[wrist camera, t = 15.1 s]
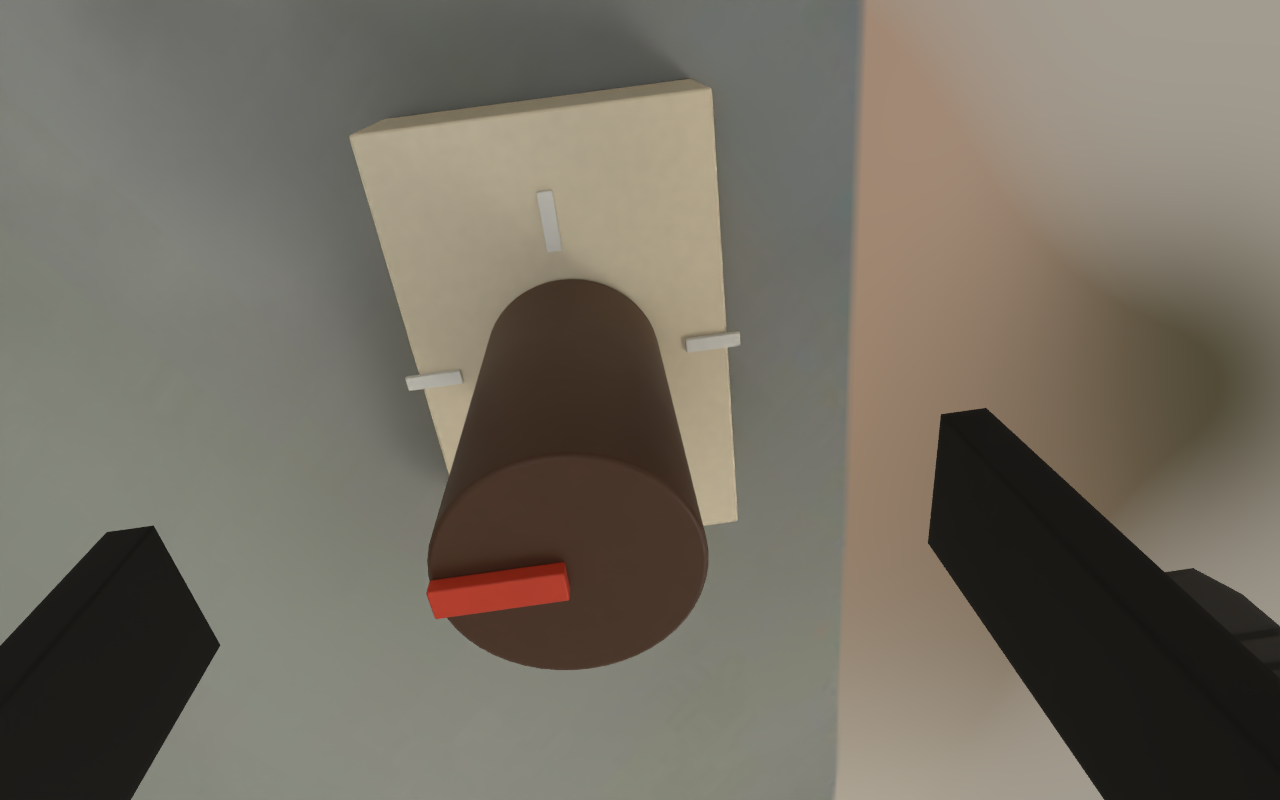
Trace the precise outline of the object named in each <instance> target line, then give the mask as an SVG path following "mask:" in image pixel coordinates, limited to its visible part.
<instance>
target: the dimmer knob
mask: <svg viewBox="0 0 1280 800" xmlns="http://www.w3.org/2000/svg"><path fill="white" fill-rule="evenodd" d="M427 562H428V575H429V579H430V582H429V585H428V589H427V593H426V594H427V597H428V599H429V602H430V605H431V608H432V611H433V614H434V617H435V619H440V618H447V619H448V620H449V621H450V622H451V623H452V624H453V626H454V627H455V628H456V629H457V630H458V631H459V632H460V633H462V634H463V635H464V636H465V637H466V638H467V639H469V640H470V641H471V642H473V643H474V644H476V645H477V646H479V647H480V648H482V649H484V650H486V651H488V652H490V653H491V654H493V655H496V656H498V657H501V658H503V659H506V660H508V661H511V662H515V663H518V664H521V665H525V666H530V667H536V668H541V669H553V670H578V669H589V668H595V667H600V666H606V665H610V664H613V663H616V662H620V661H623V660H626V659H628V658H631V657H633V656H636V655H638V654H640V653H642V652H644V651H646V650H648V649H650V648H652V647H653V646H655V645H656V644H658V643H659V642H661V641H662V640H664V639H665V638H666V637H667V636H668V635H670V634H671V633H672V632H673V631H674V630H676V629H677V628H678V626H679V625H680V624H681V623H682V622H683V621H684V620H685V619H686V618H687V616H688V615H689V613H690V612H691V611H692V609H693V608H694V606H695V604H696V602H697V600H698V598H699V596H700V594H701V592H702V589H703V586H704V583H705V580H706V576H707V570H708V546H707V540H706V535H705V531H704V527H703V523H702V519H701V515H700V511H699V507H698V503H697V499H696V495H695V491H694V487H693V482H692V478H691V474H690V470H689V466H688V462H687V458H686V454H685V450H684V446H683V442H682V438H681V434H680V430H679V426H678V422H677V418H676V414H675V410H674V406H673V402H672V397H671V393H670V389H669V385H668V381H667V377H666V373H665V369H664V365H663V361H662V357H661V353H660V349H659V345H658V341H657V338H656V335H655V332H654V329H653V327H652V325H651V323H650V321H649V320H648V318H647V317H646V315H645V314H644V313H643V311H642V310H641V309H640V308H639V307H638V306H637V305H636V304H635V303H634V302H633V301H632V300H631V299H629V298H628V297H627V296H625V295H624V294H622V293H621V292H619V291H617V290H615V289H613V288H611V287H609V286H607V285H604V284H600V283H597V282H593V281H588V280H580V279H565V280H557V281H552V282H547V283H544V284H541V285H538V286H536V287H534V288H532V289H530V290H528V291H526V292H524V293H523V294H521V295H520V296H518V297H517V298H516V299H515V300H513V301H512V302H511V303H510V304H509V305H508V306H507V307H506V308H505V310H504V311H503V312H502V313H501V315H500V316H499V318H498V319H497V321H496V322H495V325H494V327H493V329H492V331H491V334H490V338H489V341H488V344H487V348H486V351H485V355H484V358H483V362H482V365H481V368H480V372H479V375H478V379H477V382H476V386H475V389H474V392H473V396H472V399H471V403H470V406H469V410H468V413H467V416H466V420H465V423H464V427H463V430H462V434H461V437H460V440H459V444H458V447H457V451H456V454H455V458H454V461H453V464H452V468H451V471H450V475H449V478H448V482H447V485H446V489H445V492H444V495H443V499H442V502H441V506H440V509H439V513H438V516H437V519H436V523H435V526H434V530H433V533H432V537H431V540H430V544H429V550H428V560H427Z"/></svg>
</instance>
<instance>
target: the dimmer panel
mask: <svg viewBox="0 0 1280 800" xmlns="http://www.w3.org/2000/svg"><path fill="white" fill-rule="evenodd" d="M350 142H351V146H352V149H353V152H354V156H355V159H356V163H357V166H358V169H359V173H360V176H361V179H362V183H363V186H364V190H365V193H366V196H367V200H368V203H369V206H370V210H371V213H372V217H373V220H374V223H375V227H376V230H377V234H378V237H379V240H380V244H381V247H382V250H383V254H384V257H385V261H386V264H387V267H388V271H389V274H390V277H391V281H392V284H393V288H394V291H395V294H396V298H397V301H398V305H399V308H400V311H401V315H402V318H403V321H404V325H405V328H406V332H407V335H408V338H409V342H410V345H411V348H412V352H413V355H414V359H415V362H416V365H417V369H418V372H419V375H412V376H407V377H406V378H405V380H406V383H407V386H408V389H409V391H412V390H419V389H424V392H425V396H426V399H427V403H428V406H429V409H430V413H431V416H432V420H433V423H434V426H435V430H436V433H437V436H438V440H439V443H440V447H441V450H442V453H443V457H444V460H445V463H446V467H447V470H448V474H449V475H450V471H451V468H452V464H453V461H454V458H455V454H456V451H457V447H458V444H459V440H460V437H461V434H462V430H463V427H464V423H465V420H466V416H467V413H468V410H469V406H470V403H471V399H472V396H473V392H474V389H475V386H476V382H477V379H478V375H479V372H480V368H481V365H482V362H483V358H484V355H485V351H486V348H487V344H488V341H489V338H490V334H491V331H492V329H493V327H494V325H495V322H496V321H497V319H498V318H499V316H500V315H501V313H502V312H503V311H504V310H505V308H506V307H507V306H508V305H509V304H510V303H511V302H512V301H513V300H515V299H516V298H517V297H518V296H520V295H521V294H523V293H524V292H526V291H528V290H530V289H532V288H534V287H536V286H538V285H541V284H544V283H547V282H552V281H557V280H565V279H580V280H588V281H593V282H597V283H600V284H604V285H607V286H609V287H611V288H613V289H615V290H617V291H619V292H621V293H622V294H624V295H625V296H627V297H628V298H629V299H631V300H632V301H633V302H634V303H635V304H636V305H637V306H638V307H639V308H640V309H641V310H642V311H643V313H644V314H645V315H646V317H647V318H648V320H649V321H650V323H651V325H652V327H653V329H654V332H655V335H656V338H657V341H658V345H659V349H660V353H661V357H662V361H663V365H664V369H665V373H666V377H667V381H668V385H669V389H670V393H671V397H672V402H673V406H674V410H675V414H676V418H677V422H678V426H679V430H680V434H681V438H682V442H683V446H684V450H685V454H686V458H687V462H688V466H689V470H690V474H691V478H692V482H693V487H694V491H695V495H696V499H697V503H698V507H699V511H700V515H701V519H702V523H703V526H705V525H713V524H720V523H727V522H734V521H737V519H738V511H737V495H736V478H735V462H734V445H733V429H732V412H731V395H730V379H729V362H728V347H734V346H740V333H739V331H735V332H727V329H726V313H725V296H724V280H723V263H722V247H721V230H720V213H719V197H718V180H717V164H716V147H715V131H714V114H713V98H712V90H711V88H710V87H708V86H705V85H703V84H701V83H699V82H697V81H695V80H692V79H684V80H677V81H669V82H661V83H654V84H646V85H639V86H631V87H624V88H616V89H608V90H601V91H593V92H586V93H578V94H570V95H563V96H555V97H548V98H540V99H533V100H525V101H517V102H510V103H502V104H495V105H487V106H479V107H472V108H464V109H457V110H449V111H442V112H434V113H426V114H419V115H411V116H404V117H396V118H388V119H383V120H381V121H379V122H377V123H375V124H373V125H370V126H368V127H366V128H364V129H362V130H360V131H358V132H356V133H353V134H352V135H350Z"/></svg>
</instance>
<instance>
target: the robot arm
mask: <svg viewBox="0 0 1280 800" xmlns="http://www.w3.org/2000/svg"><path fill="white" fill-rule="evenodd" d="M928 544H929V545H930V547H931V548H932V549H933V551H934V552H935V554H936V555H937V557H938V558H939V560H940V561H941V562H942V564H943V565H944V567H945V568H946V570H947V571H948V573H949V574H950V576H951V577H952V579H953V580H954V582H955V583H956V584H957V586H958V587H959V589H960V590H961V592H962V593H963V595H964V596H965V597H966V599H967V600H968V602H969V603H970V605H971V606H972V608H973V609H974V611H975V612H976V613H977V615H978V616H979V618H980V619H981V621H982V622H983V624H984V625H985V626H986V628H987V630H988V631H989V632H990V634H991V635H992V637H993V638H994V640H995V641H996V643H997V644H998V646H999V647H1000V648H1001V650H1002V651H1003V653H1004V654H1005V656H1006V657H1007V659H1008V660H1009V662H1010V663H1011V665H1012V666H1013V667H1014V669H1015V670H1016V672H1017V673H1018V675H1019V676H1020V678H1021V679H1022V681H1023V682H1024V683H1025V685H1026V686H1027V688H1028V689H1029V691H1030V692H1031V693H1032V695H1033V697H1034V698H1035V699H1036V701H1037V702H1038V704H1039V705H1040V707H1041V708H1042V709H1043V711H1044V713H1045V714H1046V715H1047V717H1048V718H1049V720H1050V721H1051V723H1052V724H1053V726H1054V727H1055V729H1056V730H1057V732H1058V733H1059V734H1060V736H1061V737H1062V739H1063V740H1064V741H1065V743H1066V745H1067V746H1068V747H1069V749H1070V750H1071V752H1072V753H1073V755H1074V756H1075V758H1076V759H1077V761H1078V762H1079V764H1080V765H1081V766H1082V768H1083V769H1084V770H1085V772H1086V774H1087V775H1088V777H1089V778H1090V780H1091V781H1092V782H1093V784H1094V785H1095V787H1096V788H1097V790H1098V791H1099V793H1100V794H1101V796H1102V797H1103V799H1104V800H1280V626H1279V625H1278V624H1276V623H1275V622H1274V621H1273V620H1272V619H1271V618H1269V617H1268V616H1267V615H1266V614H1265V613H1264V612H1262V611H1261V610H1260V609H1259V608H1257V607H1256V606H1255V605H1254V604H1253V603H1252V602H1251V601H1249V600H1248V599H1247V598H1246V597H1245V596H1244V595H1242V594H1241V593H1239V592H1237V591H1235V590H1233V589H1231V588H1229V587H1227V586H1226V585H1224V584H1222V583H1220V582H1218V581H1216V580H1214V579H1212V578H1211V577H1209V576H1207V575H1204V574H1203V573H1201V572H1199V571H1197V570H1195V569H1194V568H1192V569H1185V570H1178V571H1171V572H1164V571H1162V570H1161V569H1160V568H1159V567H1158V566H1157V565H1156V564H1155V563H1154V562H1153V561H1152V560H1151V559H1149V558H1148V557H1147V556H1146V555H1145V554H1144V553H1143V552H1142V551H1141V550H1139V548H1138V547H1137V546H1135V545H1134V544H1133V543H1132V542H1131V541H1130V540H1129V539H1128V538H1127V537H1126V536H1124V535H1123V534H1122V533H1121V532H1120V531H1119V530H1118V529H1117V528H1116V527H1115V526H1114V525H1113V524H1112V523H1110V522H1109V521H1108V520H1107V519H1106V518H1105V517H1104V516H1103V515H1101V513H1100V512H1098V511H1097V510H1096V509H1095V508H1094V507H1093V506H1092V505H1091V504H1090V503H1089V502H1088V501H1087V500H1085V499H1084V498H1083V497H1082V496H1081V495H1080V494H1079V493H1078V492H1077V491H1076V490H1075V489H1074V488H1072V487H1071V486H1070V485H1069V484H1068V483H1067V482H1066V481H1065V480H1064V479H1063V478H1061V477H1060V476H1059V475H1058V474H1057V473H1056V472H1055V471H1054V470H1053V469H1052V468H1051V467H1049V465H1047V464H1046V463H1045V462H1044V461H1043V460H1042V459H1041V458H1040V457H1039V456H1038V455H1037V454H1035V453H1034V452H1033V451H1032V450H1031V449H1030V448H1029V447H1028V446H1027V445H1026V444H1025V443H1024V442H1022V441H1021V440H1020V439H1019V438H1018V437H1017V436H1016V435H1015V434H1014V433H1013V432H1012V431H1010V430H1009V429H1008V428H1007V427H1006V426H1005V425H1004V424H1003V423H1002V422H1001V421H1000V420H998V419H997V418H996V417H995V416H994V415H993V414H992V413H991V412H989V410H987V409H986V408H983V409H976V410H969V411H962V412H954V413H947V414H941V421H940V430H939V440H938V450H937V459H936V469H935V480H934V489H933V500H932V509H931V519H930V529H929V539H928ZM219 647H220V644H219V642H218V640H217V638H216V637H215V635H214V633H213V631H212V630H211V628H210V626H209V624H208V622H207V621H206V619H205V617H204V615H203V613H202V612H201V610H200V608H199V606H198V604H197V603H196V601H195V599H194V597H193V595H192V594H191V592H190V590H189V588H188V586H187V585H186V583H185V581H184V579H183V578H182V576H181V574H180V572H179V570H178V569H177V567H176V565H175V563H174V561H173V560H172V558H171V556H170V554H169V552H168V551H167V549H166V547H165V545H164V543H163V542H162V540H161V538H160V536H159V534H158V533H157V531H156V529H155V527H154V526H148V527H141V528H134V529H127V530H120V531H112V532H107V533H106V534H105V535H104V536H103V537H102V538H101V539H100V540H99V541H98V542H97V543H96V544H95V545H94V546H93V547H92V549H91V550H90V551H89V552H88V553H87V554H86V555H85V556H84V557H83V558H82V559H81V560H80V561H79V562H78V564H77V565H76V566H75V567H74V568H73V569H72V570H71V571H70V572H69V573H68V574H67V575H66V576H65V577H64V578H63V580H62V581H61V582H60V583H59V584H58V585H57V586H56V587H55V588H54V589H53V590H52V591H51V592H50V593H49V594H48V596H47V597H46V598H45V599H44V600H43V601H42V602H41V603H40V604H39V605H38V606H37V607H36V608H35V609H34V610H33V612H32V613H31V614H30V615H29V616H28V617H27V618H26V619H25V620H24V621H23V622H22V623H21V624H20V625H19V627H18V628H17V629H16V630H15V631H14V632H13V633H12V634H11V635H10V636H9V637H8V638H7V639H6V640H5V641H4V643H3V644H2V645H1V646H0V800H131V798H132V797H133V795H134V793H135V791H136V790H137V788H138V786H139V785H140V783H141V781H142V779H143V778H144V776H145V774H146V772H147V771H148V769H149V767H150V766H151V764H152V762H153V760H154V759H155V757H156V755H157V753H158V752H159V750H160V748H161V747H162V745H163V743H164V741H165V740H166V738H167V736H168V734H169V733H170V731H171V729H172V728H173V726H174V724H175V722H176V721H177V719H178V717H179V716H180V714H181V712H182V710H183V709H184V707H185V705H186V703H187V702H188V700H189V698H190V697H191V695H192V693H193V691H194V690H195V688H196V686H197V684H198V683H199V681H200V679H201V678H202V676H203V674H204V672H205V671H206V669H207V667H208V665H209V664H210V662H211V660H212V659H213V657H214V655H215V653H216V652H217V650H218V648H219Z"/></svg>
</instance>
